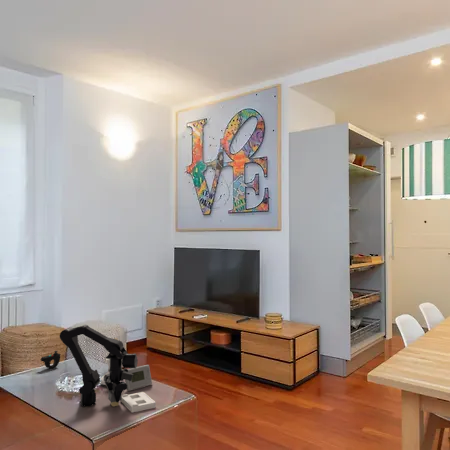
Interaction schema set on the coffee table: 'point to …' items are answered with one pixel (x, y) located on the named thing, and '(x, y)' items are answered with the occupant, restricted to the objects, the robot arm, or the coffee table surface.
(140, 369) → the digital clock
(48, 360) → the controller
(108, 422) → the coffee table surface
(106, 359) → the flower in vase
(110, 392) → the plug
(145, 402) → the socket
